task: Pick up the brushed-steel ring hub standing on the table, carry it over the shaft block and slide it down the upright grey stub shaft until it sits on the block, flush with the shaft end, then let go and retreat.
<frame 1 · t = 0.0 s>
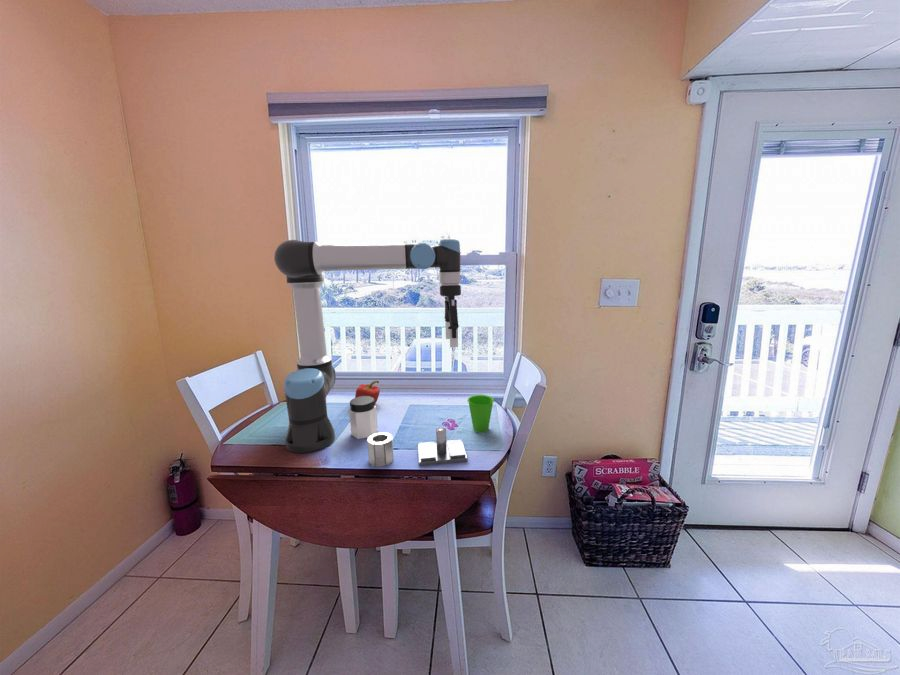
hand: (451, 342, 127), 28 cm above the table, fingers open, 13 cm apart
cup: (480, 429, 120), on the table
hub: (381, 459, 103), on the table
shaft block: (441, 454, 105), on the table
vegetable: (369, 406, 143), on the table
jar: (364, 433, 120), on the table
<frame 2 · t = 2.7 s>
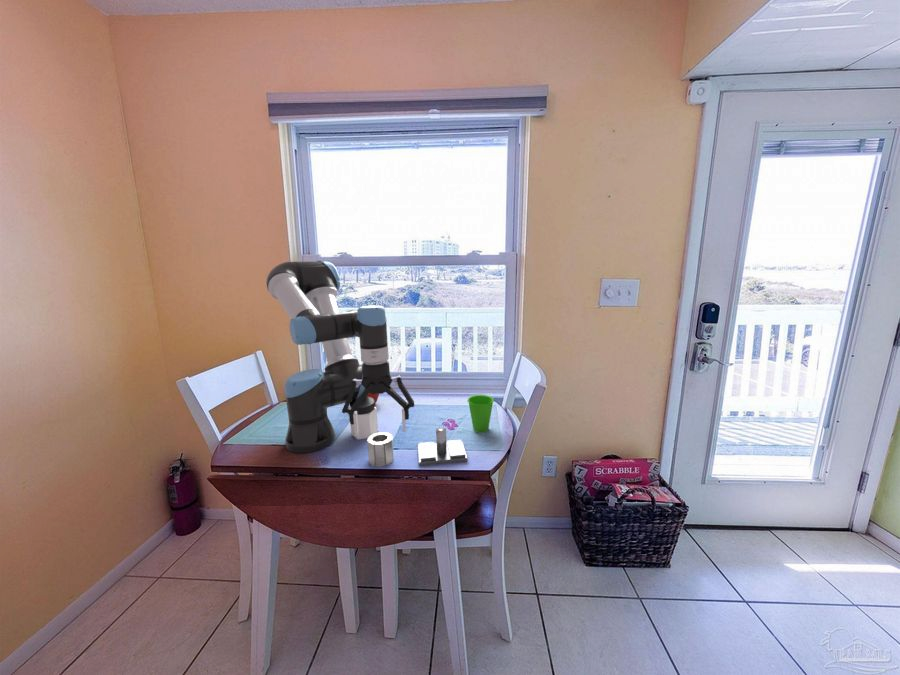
hand: (381, 431, 101), 9 cm above the table, fingers open, 13 cm apart
jar: (365, 433, 120), on the table, touching arm
everything else where it was.
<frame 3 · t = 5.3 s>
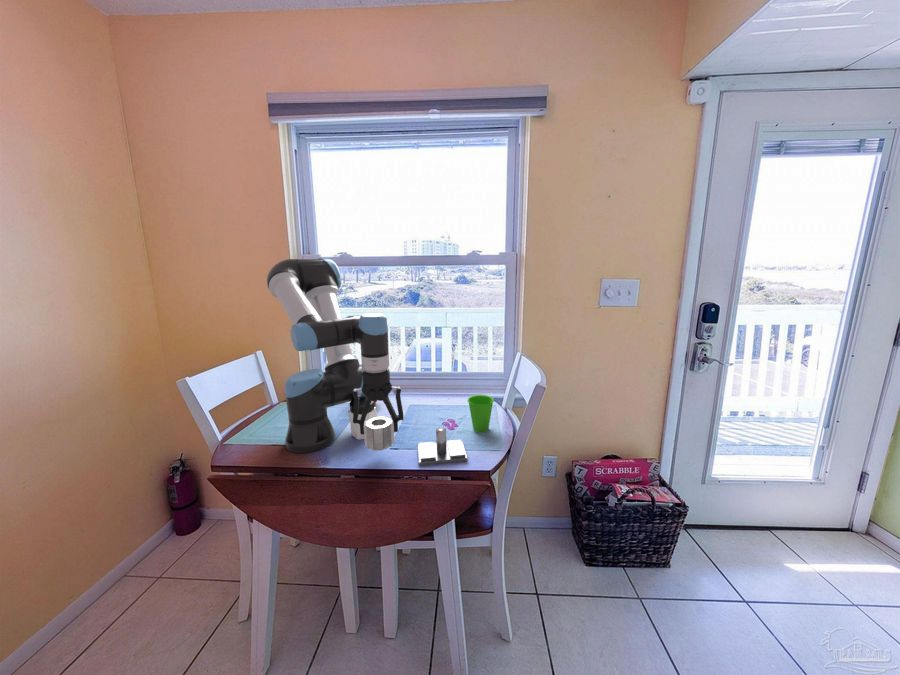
hand: (380, 442, 103), 5 cm above the table, fingers closed on hub, 7 cm apart
hub: (380, 444, 103), point 5 cm above the table, touching gripper
everything else where it was.
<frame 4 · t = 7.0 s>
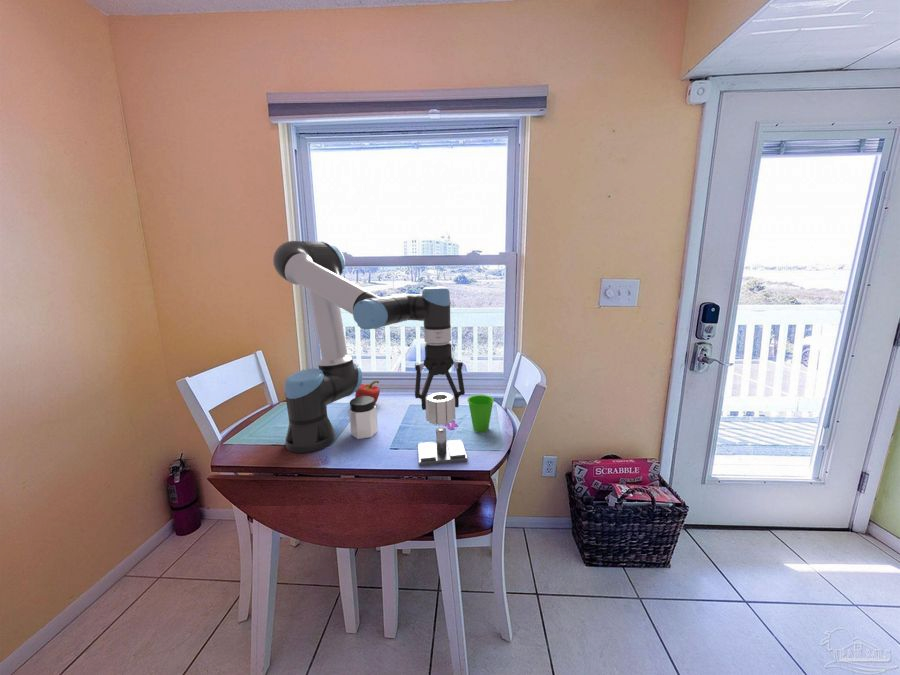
hand: (440, 418, 102), 12 cm above the table, fingers closed on hub, 7 cm apart
hub: (440, 419, 102), point 12 cm above the table, touching gripper
jar: (364, 433, 120), on the table
everything else where it was.
when the fingers open (3 cm above the table, at t = 8.5 s): hub stays where it is, resting on shaft block.
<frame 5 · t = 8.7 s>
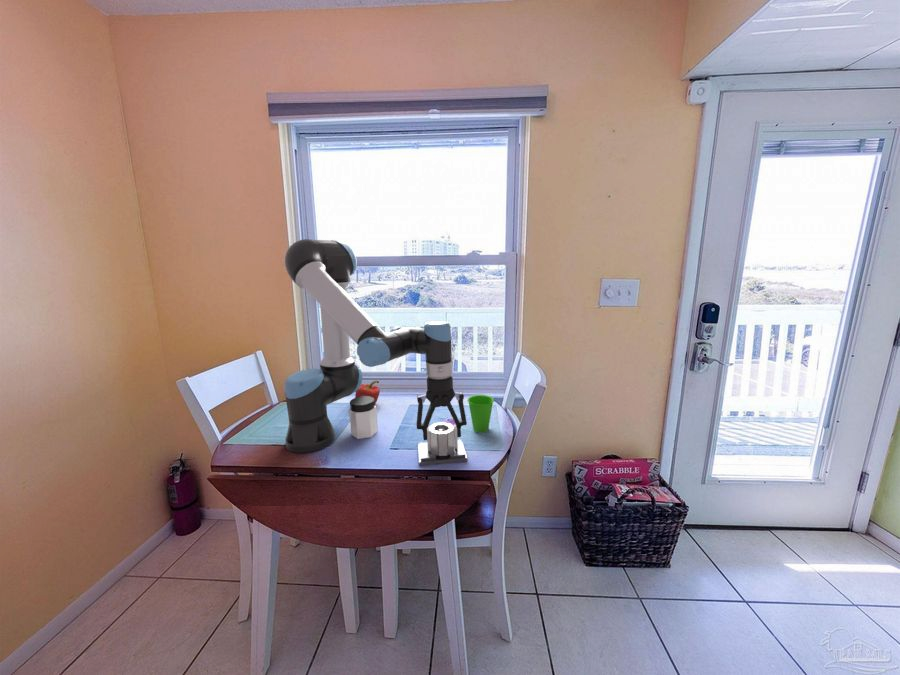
hand: (442, 447, 105), 2 cm above the table, fingers open, 7 cm apart
hub: (442, 449, 104), point 2 cm above the table, touching shaft block
everything else where it was.
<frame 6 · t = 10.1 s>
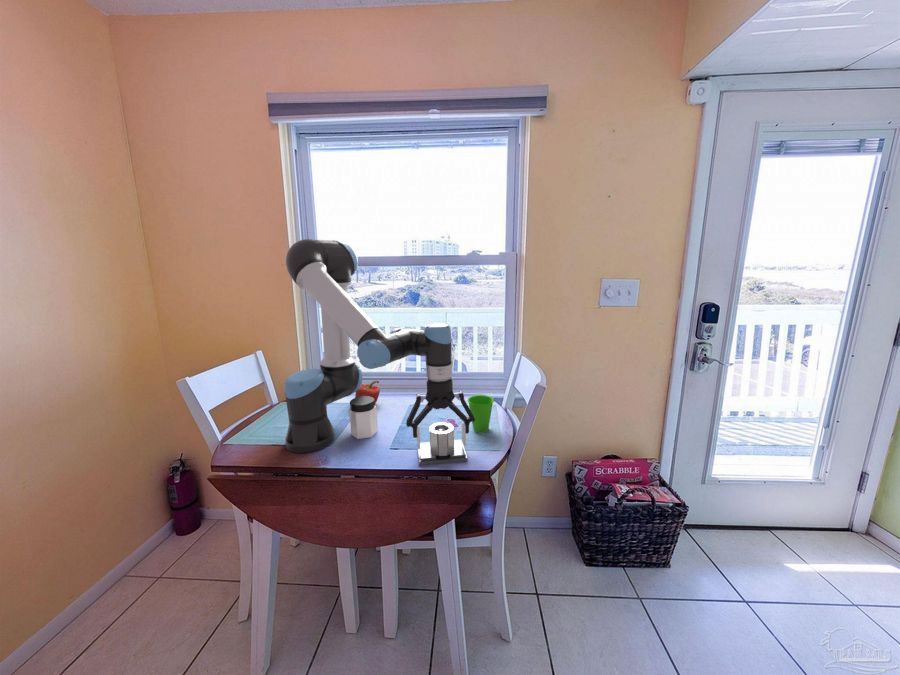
hand: (441, 444, 104), 3 cm above the table, fingers open, 13 cm apart
nothing on the table moved.
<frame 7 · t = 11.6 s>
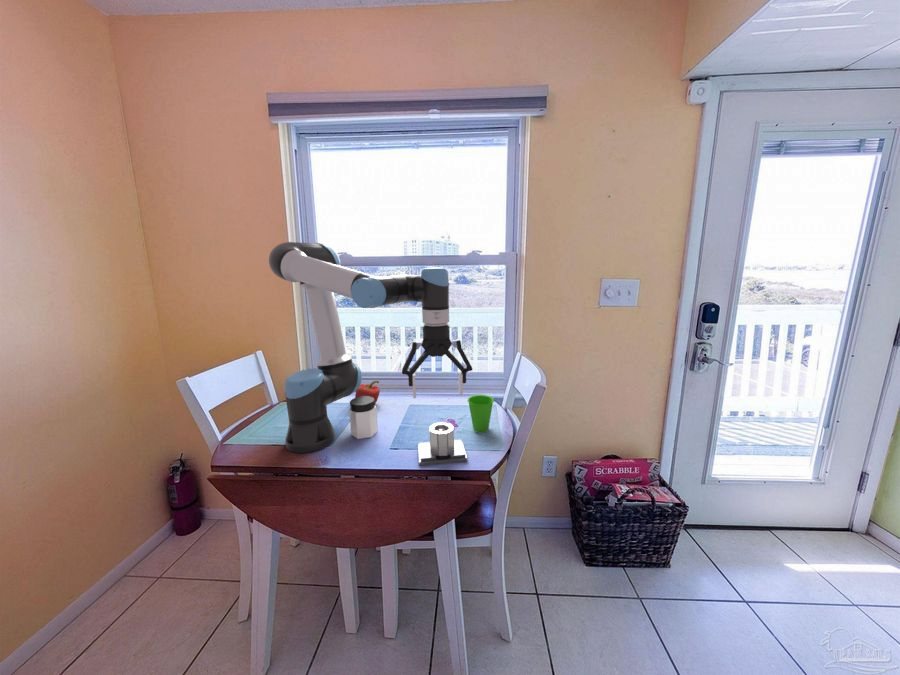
hand: (437, 395, 102), 19 cm above the table, fingers open, 13 cm apart
nothing on the table moved.
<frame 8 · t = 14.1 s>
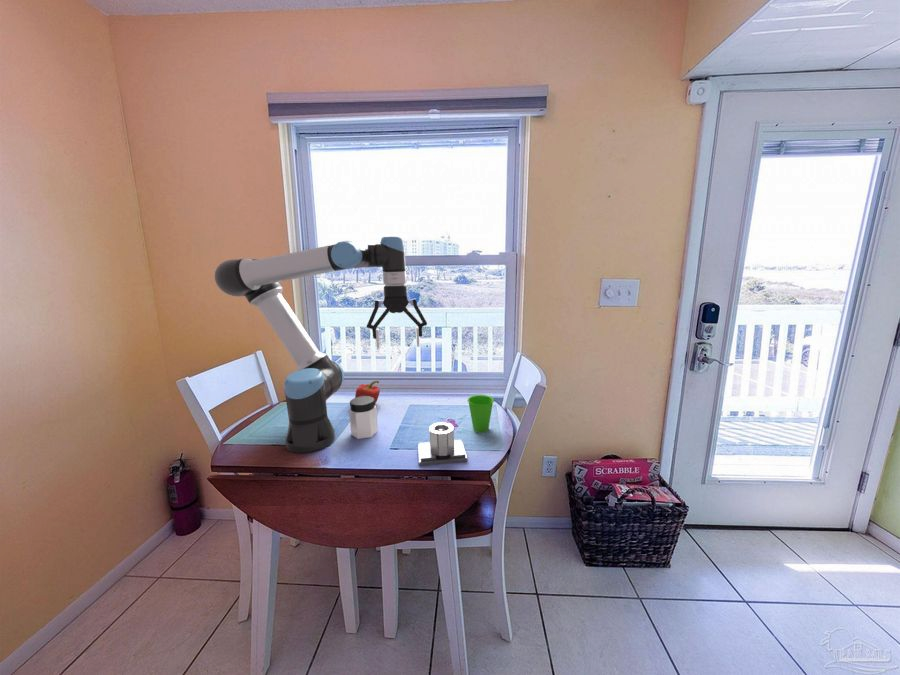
hand: (398, 346, 120), 29 cm above the table, fingers open, 13 cm apart
nothing on the table moved.
at the end: hub 0.6 cm off-centre on the shaft block, point 2.0 cm above the shaft block's base; hub tilted 0°; the gripper is holding nothing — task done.
